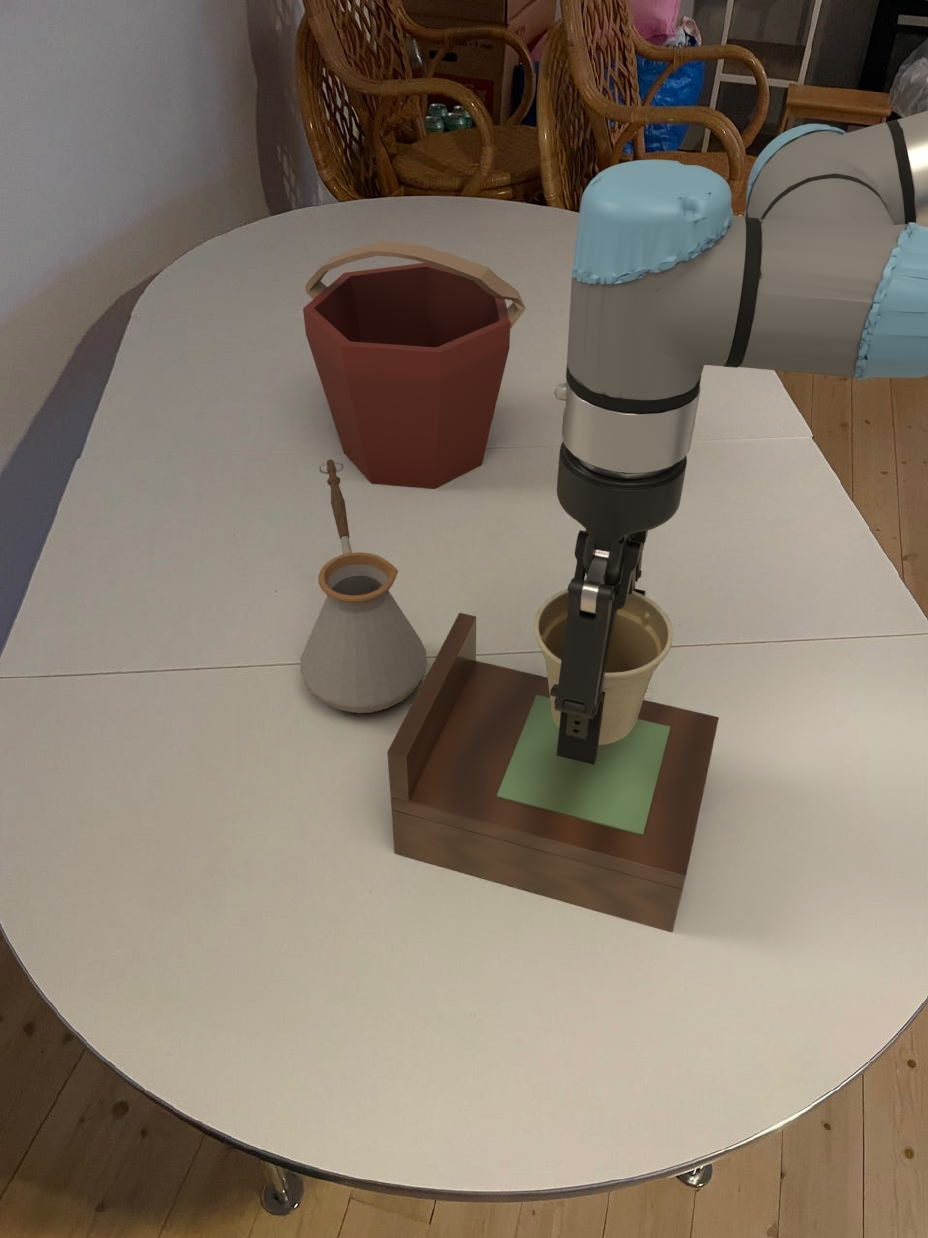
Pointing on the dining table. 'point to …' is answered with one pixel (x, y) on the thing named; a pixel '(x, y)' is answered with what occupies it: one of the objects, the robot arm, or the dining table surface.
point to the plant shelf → (546, 790)
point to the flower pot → (612, 657)
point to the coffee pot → (360, 629)
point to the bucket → (411, 360)
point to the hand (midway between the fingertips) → (591, 712)
